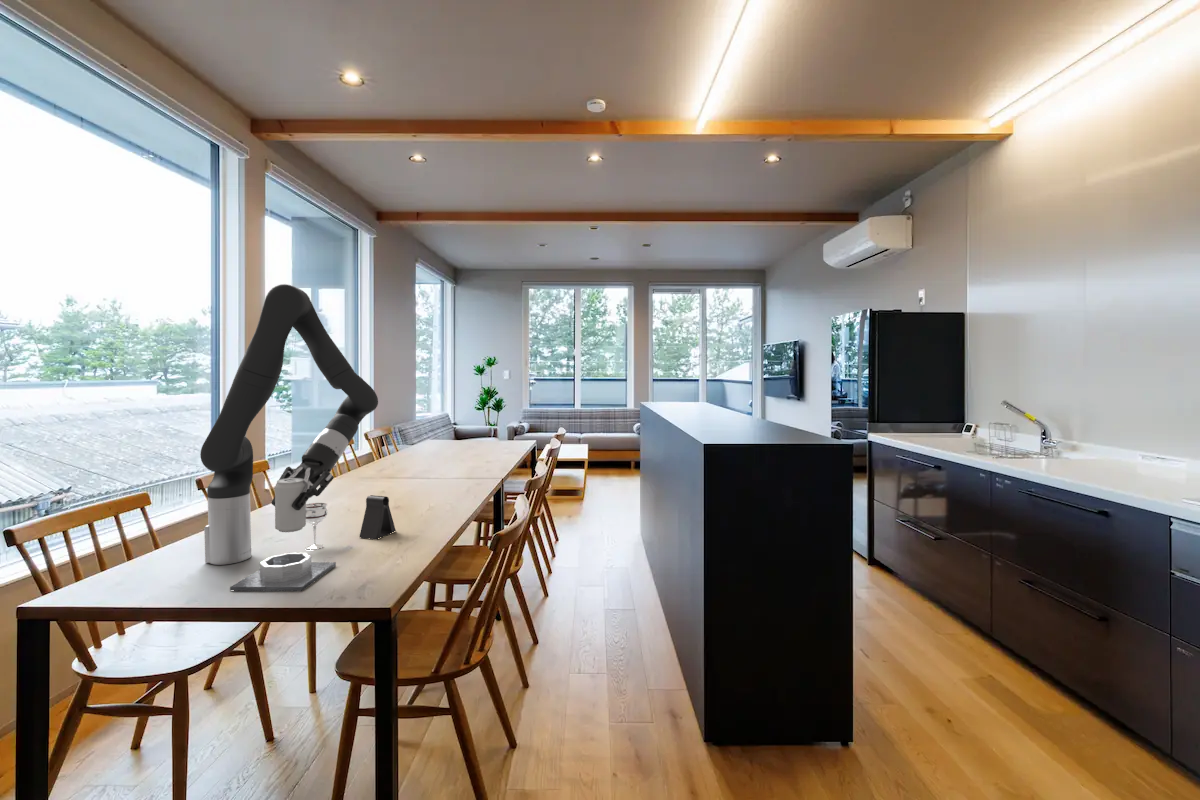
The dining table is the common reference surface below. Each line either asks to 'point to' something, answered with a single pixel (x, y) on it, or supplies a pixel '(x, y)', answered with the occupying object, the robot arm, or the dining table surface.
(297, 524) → the beverage can
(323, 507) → the wineglass
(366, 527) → the phone stand
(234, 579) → the dining table surface
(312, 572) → the collar stand
